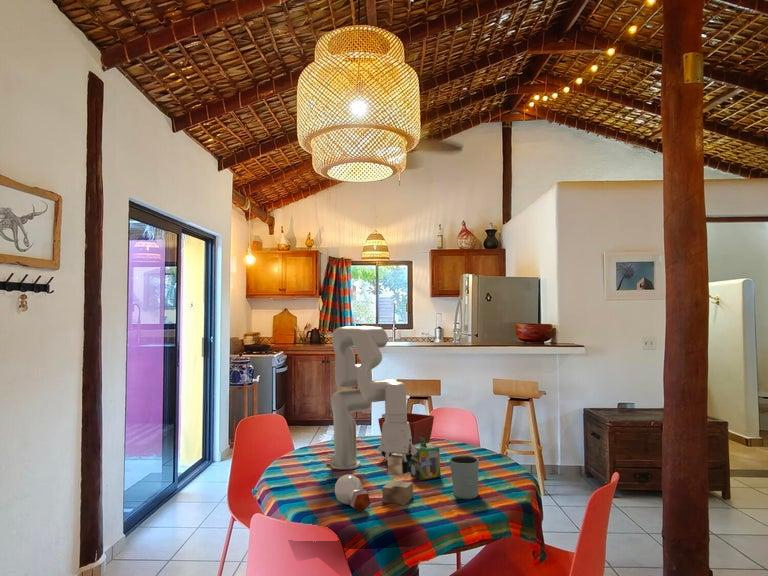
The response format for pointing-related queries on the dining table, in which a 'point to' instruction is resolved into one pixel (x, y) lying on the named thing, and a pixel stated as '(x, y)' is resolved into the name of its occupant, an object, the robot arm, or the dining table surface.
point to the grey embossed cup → (465, 476)
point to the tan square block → (397, 492)
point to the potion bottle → (352, 492)
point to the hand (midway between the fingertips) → (397, 471)
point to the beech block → (395, 464)
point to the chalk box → (425, 461)
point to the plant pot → (417, 427)
